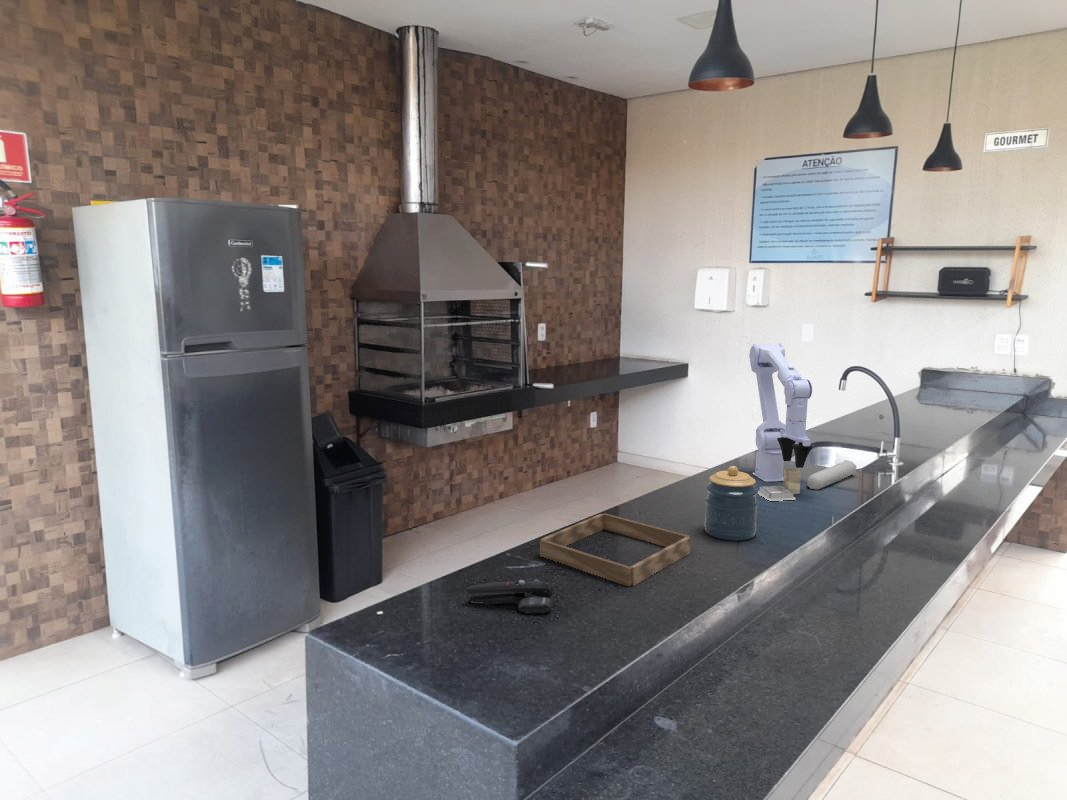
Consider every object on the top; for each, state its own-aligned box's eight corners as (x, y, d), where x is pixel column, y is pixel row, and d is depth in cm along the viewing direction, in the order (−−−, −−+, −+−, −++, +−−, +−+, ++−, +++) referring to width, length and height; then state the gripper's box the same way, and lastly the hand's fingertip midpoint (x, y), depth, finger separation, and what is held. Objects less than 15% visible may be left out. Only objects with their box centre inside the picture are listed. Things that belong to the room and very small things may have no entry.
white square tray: (758, 491, 221) (758, 486, 221) (781, 490, 222) (782, 485, 222) (770, 499, 214) (770, 494, 214) (794, 497, 215) (794, 492, 215)
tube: (822, 480, 223) (859, 465, 239) (807, 471, 226) (844, 457, 243) (816, 495, 225) (853, 479, 241) (801, 486, 228) (838, 471, 245)
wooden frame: (602, 527, 192) (603, 512, 191) (691, 552, 175) (692, 536, 175) (538, 556, 173) (538, 539, 172) (631, 587, 156) (631, 569, 155)
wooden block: (783, 490, 225) (784, 468, 223) (793, 490, 225) (795, 468, 224) (788, 494, 221) (790, 471, 220) (799, 493, 222) (801, 471, 221)
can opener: (556, 602, 150) (556, 576, 149) (550, 618, 143) (551, 590, 142) (471, 595, 153) (471, 569, 152) (462, 610, 146) (462, 583, 145)
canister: (700, 537, 185) (703, 470, 182) (707, 521, 197) (710, 457, 194) (754, 544, 181) (758, 475, 178) (757, 527, 193) (761, 462, 190)
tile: (757, 493, 222) (757, 491, 221) (782, 492, 223) (782, 490, 223) (769, 501, 214) (769, 499, 214) (795, 500, 215) (795, 498, 215)
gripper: (772, 415, 226) (769, 458, 228) (795, 425, 212) (792, 470, 214) (793, 415, 227) (790, 457, 229) (818, 424, 213) (815, 470, 215)
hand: (793, 464), depth 222 cm, fingers open, 7 cm apart
